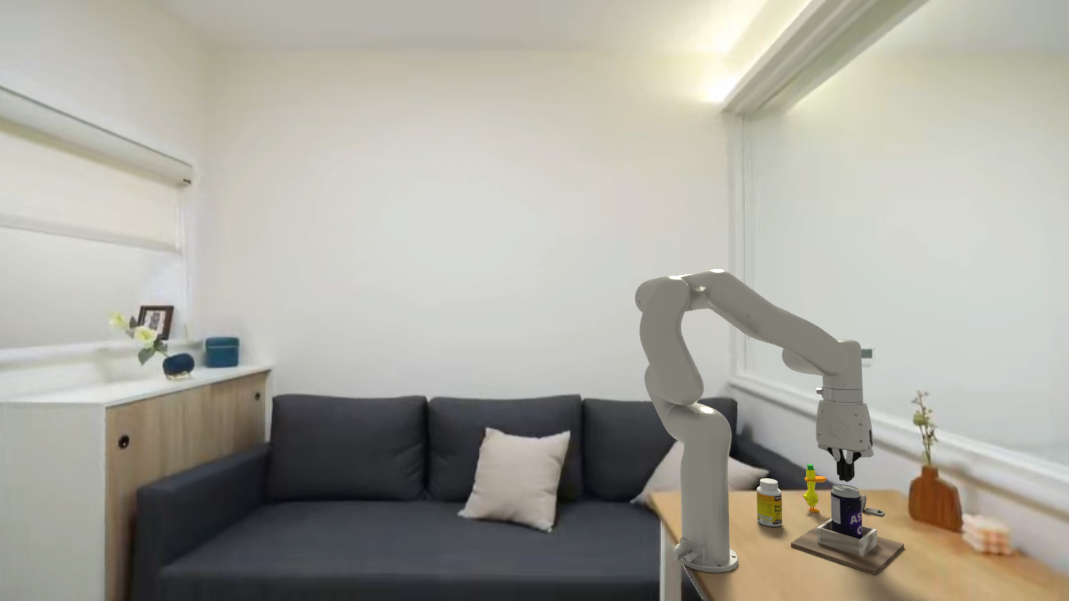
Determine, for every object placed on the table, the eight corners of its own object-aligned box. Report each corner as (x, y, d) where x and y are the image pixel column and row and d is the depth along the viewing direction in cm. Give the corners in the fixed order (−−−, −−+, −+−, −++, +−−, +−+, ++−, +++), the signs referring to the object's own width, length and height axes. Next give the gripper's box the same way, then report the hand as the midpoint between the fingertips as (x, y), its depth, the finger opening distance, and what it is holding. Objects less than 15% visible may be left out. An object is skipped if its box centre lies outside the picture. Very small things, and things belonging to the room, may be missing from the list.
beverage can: (853, 552, 105) (851, 494, 106) (826, 541, 110) (825, 486, 111) (868, 545, 108) (866, 489, 108) (841, 535, 113) (839, 481, 113)
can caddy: (875, 575, 98) (874, 554, 98) (790, 546, 110) (790, 528, 110) (904, 547, 109) (903, 528, 109) (824, 524, 121) (824, 507, 121)
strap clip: (885, 515, 128) (884, 498, 128) (882, 518, 125) (881, 501, 126) (847, 506, 134) (846, 489, 134) (843, 509, 132) (843, 492, 132)
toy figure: (822, 508, 132) (821, 461, 132) (831, 513, 128) (830, 465, 128) (798, 509, 131) (796, 462, 132) (806, 514, 128) (805, 466, 128)
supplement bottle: (777, 529, 119) (776, 486, 119) (753, 523, 123) (752, 480, 123) (786, 523, 122) (784, 480, 123) (762, 516, 126) (761, 475, 127)
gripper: (799, 394, 114) (802, 475, 113) (876, 401, 102) (879, 492, 102) (813, 390, 119) (816, 468, 118) (888, 397, 107) (891, 484, 106)
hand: (845, 479), depth 110 cm, fingers closed
